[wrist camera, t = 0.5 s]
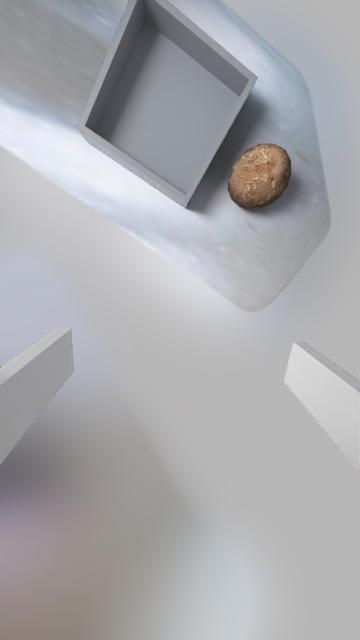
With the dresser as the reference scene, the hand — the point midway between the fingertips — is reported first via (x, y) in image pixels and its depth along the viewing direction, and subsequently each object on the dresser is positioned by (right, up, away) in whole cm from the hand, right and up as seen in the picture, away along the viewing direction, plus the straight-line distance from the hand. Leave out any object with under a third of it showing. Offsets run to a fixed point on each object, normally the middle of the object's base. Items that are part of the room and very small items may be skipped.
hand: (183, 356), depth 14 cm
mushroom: (+10, +22, +20) cm, 31 cm away
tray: (-2, +29, +17) cm, 33 cm away
